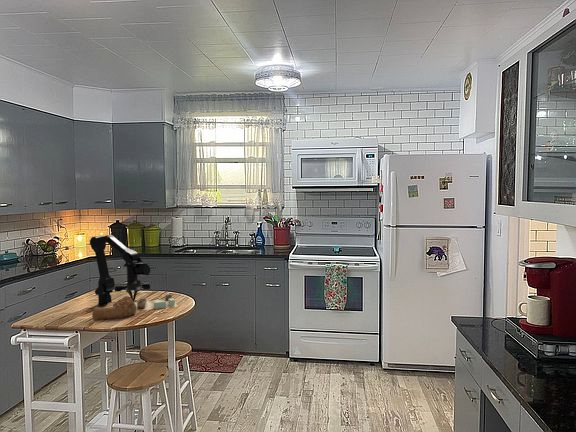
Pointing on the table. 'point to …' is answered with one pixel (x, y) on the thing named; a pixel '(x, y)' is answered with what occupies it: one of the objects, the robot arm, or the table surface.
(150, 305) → the board
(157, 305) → the socket blocks
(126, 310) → the tan rounded lump
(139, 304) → the hinged leg
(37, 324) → the table surface
